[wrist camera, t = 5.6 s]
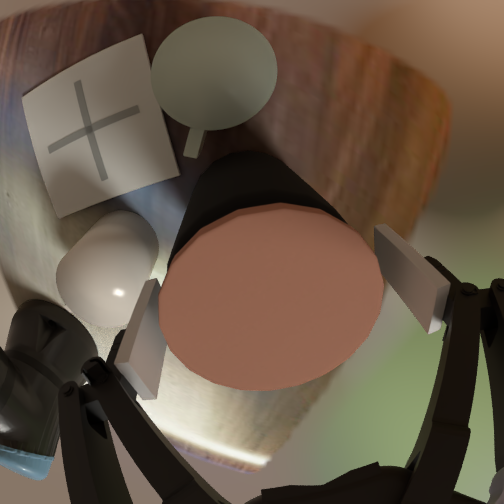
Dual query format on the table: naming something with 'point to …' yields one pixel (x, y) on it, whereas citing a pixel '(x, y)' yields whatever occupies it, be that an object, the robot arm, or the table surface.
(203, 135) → the mug sage
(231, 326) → the coffee jar
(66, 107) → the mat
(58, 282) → the mug cream
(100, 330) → the table surface
